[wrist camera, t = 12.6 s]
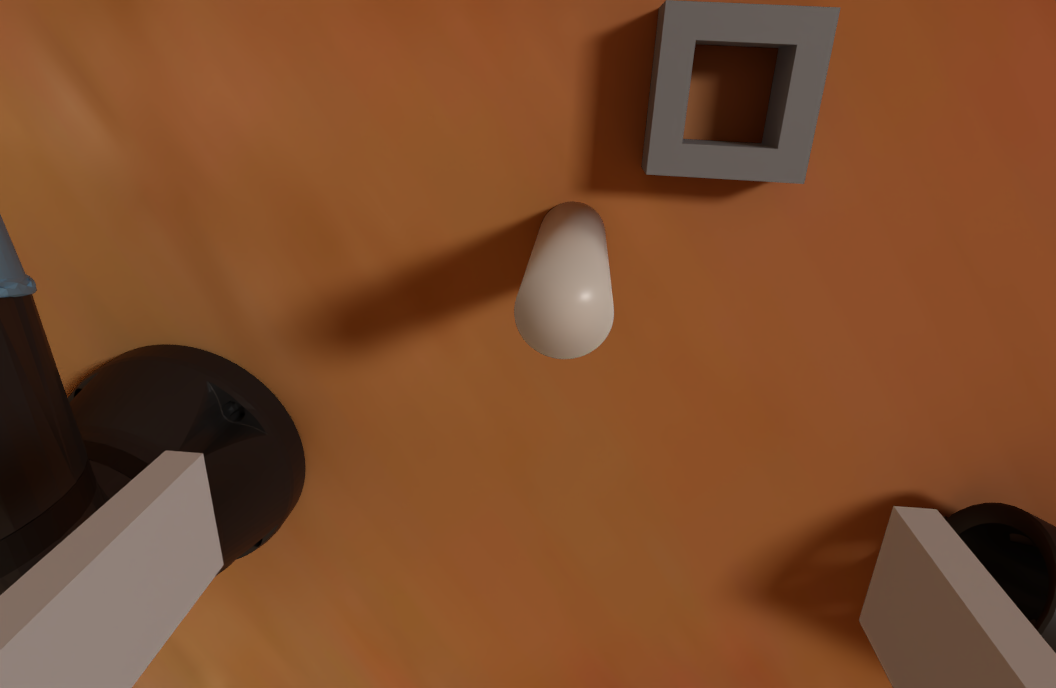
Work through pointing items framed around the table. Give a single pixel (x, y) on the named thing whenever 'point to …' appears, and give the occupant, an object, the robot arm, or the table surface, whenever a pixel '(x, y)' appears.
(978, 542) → the muzzle brake
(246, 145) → the table surface
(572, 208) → the plug
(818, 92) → the socket block
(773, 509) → the table surface
